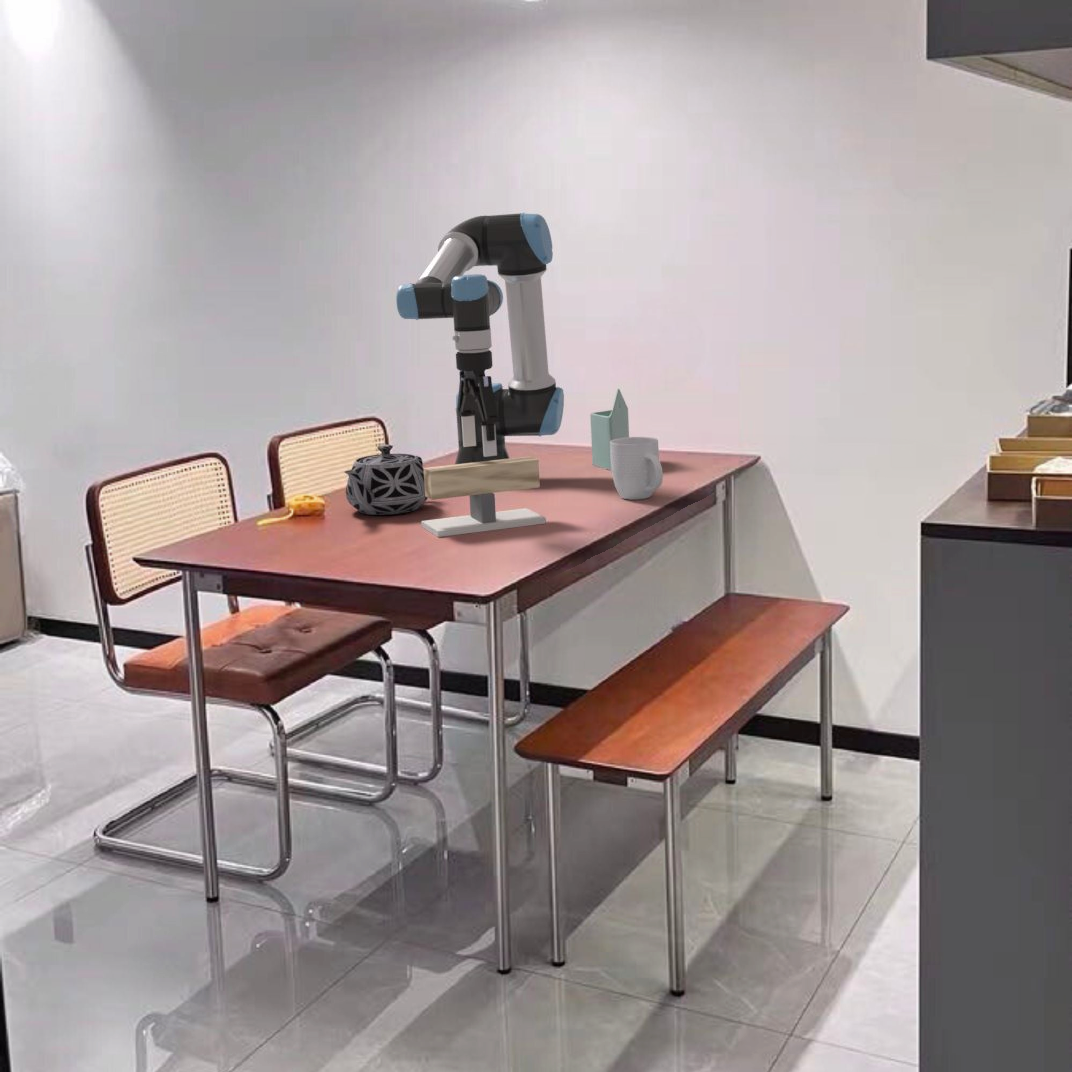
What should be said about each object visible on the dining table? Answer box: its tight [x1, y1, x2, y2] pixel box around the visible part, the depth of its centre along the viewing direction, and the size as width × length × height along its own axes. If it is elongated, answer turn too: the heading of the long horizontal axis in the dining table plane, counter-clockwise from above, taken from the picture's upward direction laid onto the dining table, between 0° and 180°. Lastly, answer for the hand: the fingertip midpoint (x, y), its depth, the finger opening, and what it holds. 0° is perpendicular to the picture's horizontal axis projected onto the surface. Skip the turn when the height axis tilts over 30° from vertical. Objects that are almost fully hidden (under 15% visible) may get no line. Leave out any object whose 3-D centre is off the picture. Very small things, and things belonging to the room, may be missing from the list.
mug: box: [610, 436, 664, 501], centre depth 333 cm, size 15×11×13 cm
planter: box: [589, 388, 630, 472], centre depth 377 cm, size 16×8×20 cm, turn 162°
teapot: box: [343, 444, 429, 516], centre depth 333 cm, size 19×31×15 cm, turn 153°
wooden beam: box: [423, 456, 541, 501], centre depth 312 cm, size 5×24×6 cm, turn 111°
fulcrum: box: [421, 493, 547, 538], centre depth 314 cm, size 12×24×7 cm, turn 111°
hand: (479, 451), depth 311 cm, fingers open, 13 cm apart
